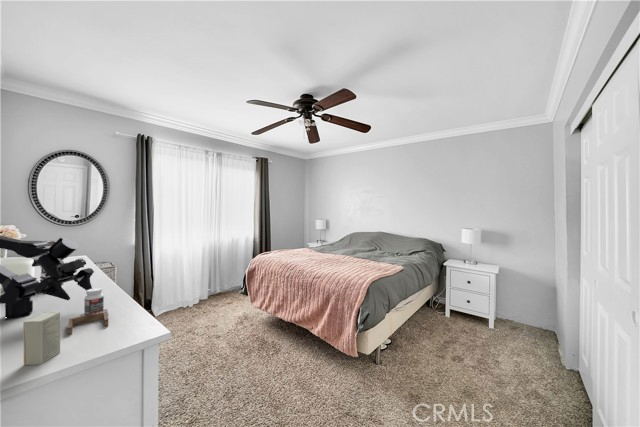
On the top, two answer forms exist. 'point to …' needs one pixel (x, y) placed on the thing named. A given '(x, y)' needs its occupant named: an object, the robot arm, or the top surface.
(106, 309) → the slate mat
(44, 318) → the skincare box
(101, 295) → the pill bottle
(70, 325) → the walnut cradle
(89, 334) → the top surface
